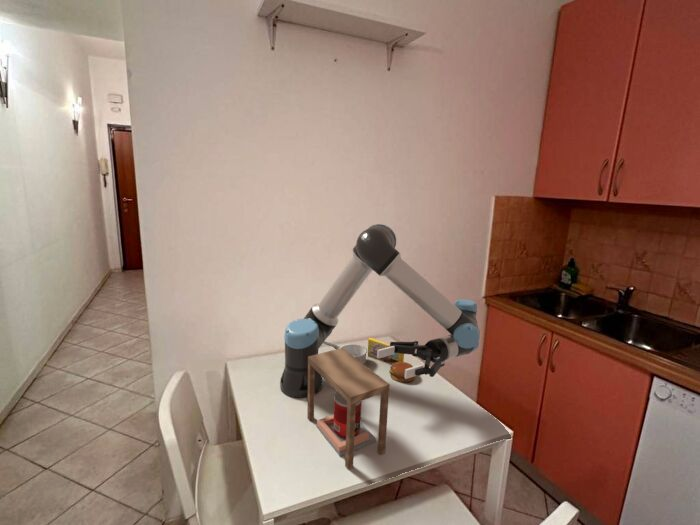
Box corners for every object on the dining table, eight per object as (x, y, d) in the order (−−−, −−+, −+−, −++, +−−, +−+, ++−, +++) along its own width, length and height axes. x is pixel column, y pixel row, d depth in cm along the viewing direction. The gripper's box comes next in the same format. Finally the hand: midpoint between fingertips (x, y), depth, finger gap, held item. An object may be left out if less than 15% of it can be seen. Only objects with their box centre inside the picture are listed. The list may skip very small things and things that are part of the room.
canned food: (357, 441, 103) (359, 406, 101) (330, 436, 105) (331, 402, 102) (362, 424, 110) (363, 391, 108) (336, 419, 112) (337, 387, 109)
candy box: (367, 356, 155) (367, 338, 153) (369, 355, 156) (370, 337, 155) (401, 368, 146) (402, 349, 144) (403, 366, 148) (405, 348, 146)
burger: (419, 379, 139) (420, 367, 138) (401, 386, 134) (402, 374, 133) (402, 367, 147) (403, 357, 146) (384, 374, 142) (385, 363, 141)
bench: (340, 406, 120) (342, 347, 115) (385, 452, 101) (389, 384, 96) (307, 418, 114) (308, 356, 109) (348, 469, 94) (351, 397, 89)
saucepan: (330, 348, 161) (330, 336, 160) (371, 360, 152) (372, 348, 151) (315, 359, 151) (316, 346, 150) (358, 372, 142) (359, 359, 141)
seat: (349, 414, 116) (350, 407, 116) (375, 441, 105) (376, 433, 104) (316, 426, 110) (316, 419, 109) (339, 456, 99) (340, 448, 98)
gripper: (469, 377, 113) (417, 395, 102) (414, 344, 133) (367, 357, 122) (472, 355, 111) (420, 371, 100) (416, 325, 132) (368, 336, 120)
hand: (390, 363), depth 111 cm, fingers open, 13 cm apart
